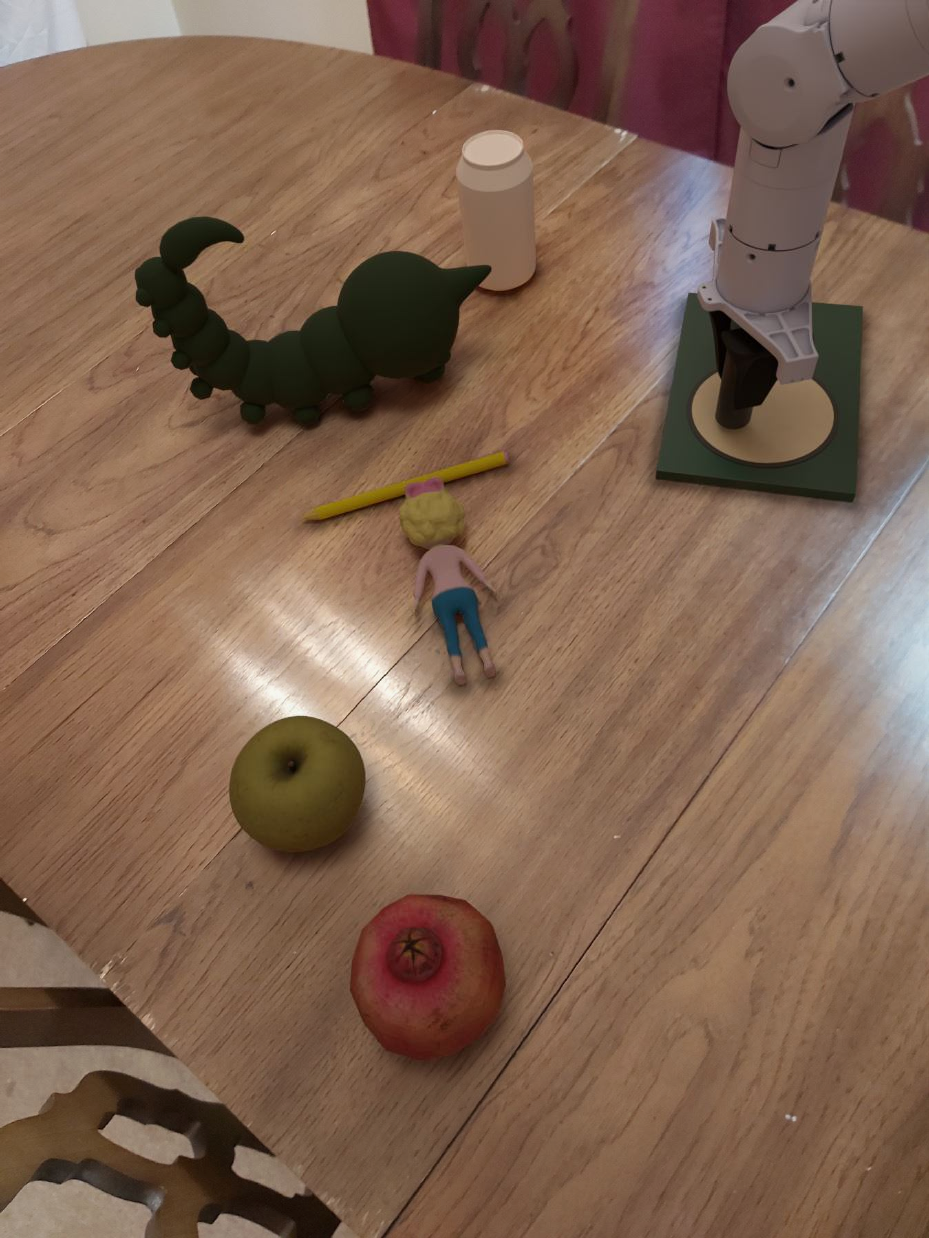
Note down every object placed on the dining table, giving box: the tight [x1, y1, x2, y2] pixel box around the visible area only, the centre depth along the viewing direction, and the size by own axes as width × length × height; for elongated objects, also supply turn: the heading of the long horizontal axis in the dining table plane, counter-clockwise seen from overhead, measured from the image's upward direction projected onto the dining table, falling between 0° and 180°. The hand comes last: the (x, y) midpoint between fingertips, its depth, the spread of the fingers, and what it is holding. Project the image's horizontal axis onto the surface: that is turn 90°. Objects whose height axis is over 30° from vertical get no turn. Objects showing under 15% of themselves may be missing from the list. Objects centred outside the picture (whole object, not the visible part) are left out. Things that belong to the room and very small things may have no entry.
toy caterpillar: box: [134, 215, 492, 427], centre depth 70 cm, size 9×19×25 cm
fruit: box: [349, 894, 507, 1062], centre depth 47 cm, size 8×8×10 cm
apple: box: [228, 715, 367, 853], centre depth 55 cm, size 8×8×7 cm
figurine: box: [398, 477, 498, 686], centre depth 64 cm, size 6×4×15 cm
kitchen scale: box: [655, 292, 864, 503], centre depth 73 cm, size 20×14×1 cm
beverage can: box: [455, 129, 537, 292], centre depth 79 cm, size 6×6×12 cm
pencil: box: [299, 450, 510, 521], centre depth 71 cm, size 16×1×1 cm, turn 107°
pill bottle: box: [715, 320, 753, 429], centre depth 65 cm, size 3×3×10 cm
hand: (739, 388), depth 67 cm, fingers closed on pill bottle, 2 cm apart
